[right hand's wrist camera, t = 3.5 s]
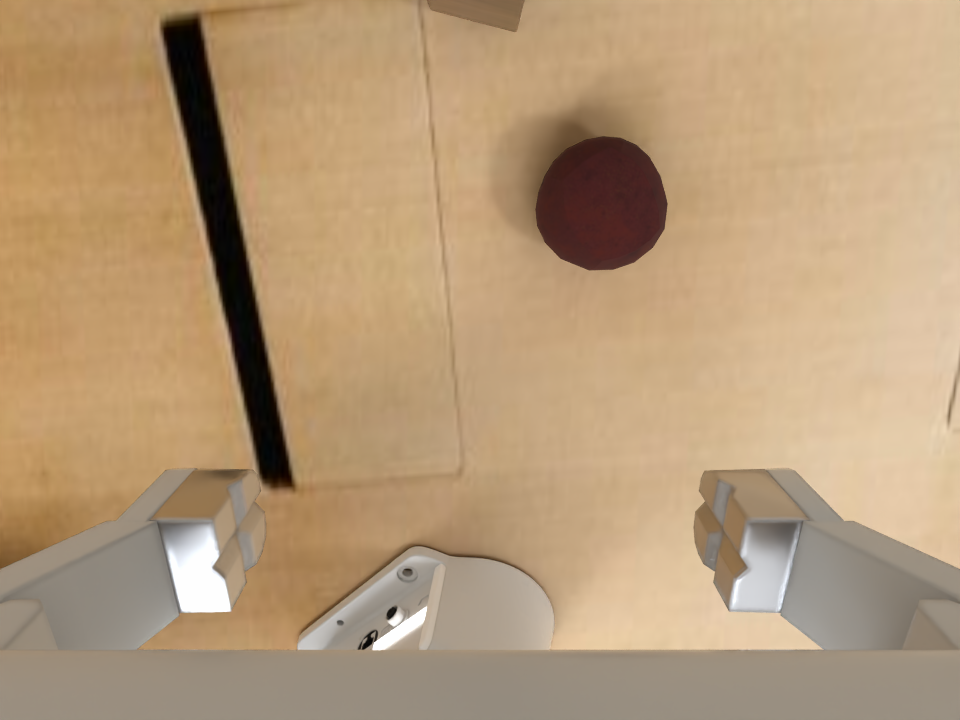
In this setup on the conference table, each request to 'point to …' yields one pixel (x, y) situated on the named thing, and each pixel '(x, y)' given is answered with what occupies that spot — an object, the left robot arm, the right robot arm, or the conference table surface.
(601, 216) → the potato
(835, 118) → the conference table surface
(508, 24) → the bar
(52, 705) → the right robot arm
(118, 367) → the conference table surface
